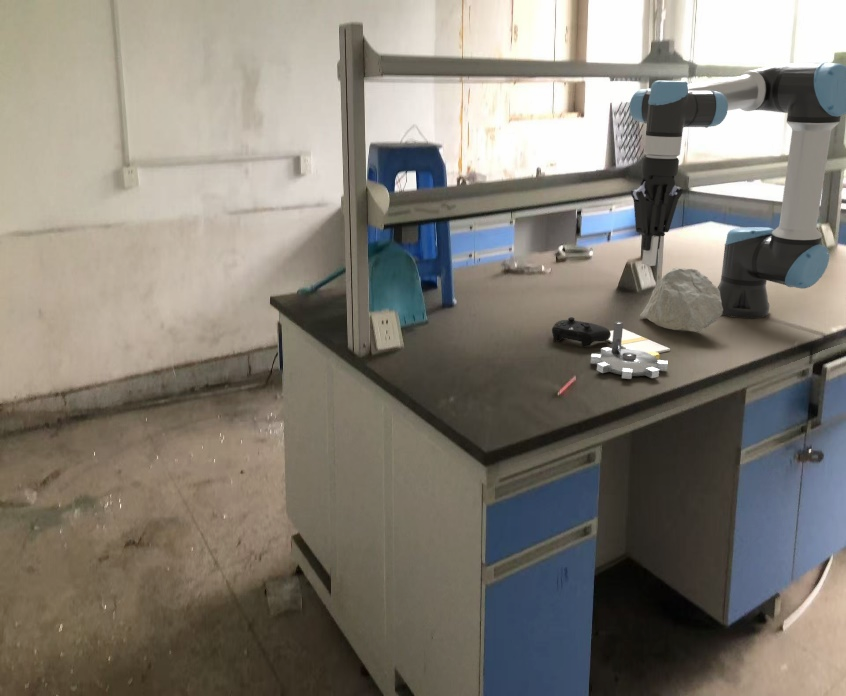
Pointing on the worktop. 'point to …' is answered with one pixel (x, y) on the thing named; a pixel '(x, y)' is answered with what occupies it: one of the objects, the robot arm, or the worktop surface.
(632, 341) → the marked pad
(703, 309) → the grey rock
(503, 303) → the worktop surface
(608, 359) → the sprocket
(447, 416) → the worktop surface
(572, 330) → the gaming controller
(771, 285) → the worktop surface
